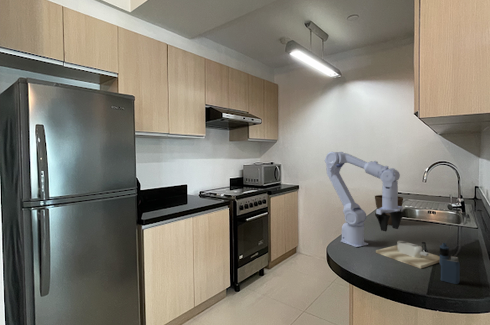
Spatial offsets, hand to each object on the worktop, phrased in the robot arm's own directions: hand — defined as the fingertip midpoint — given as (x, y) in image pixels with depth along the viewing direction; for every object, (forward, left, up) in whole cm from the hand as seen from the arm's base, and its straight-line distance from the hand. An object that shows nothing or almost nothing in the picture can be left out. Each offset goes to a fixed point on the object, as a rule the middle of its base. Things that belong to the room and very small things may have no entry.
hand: (389, 229), depth 113 cm
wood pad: (+7, +2, -9) cm, 12 cm away
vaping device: (+26, -8, -10) cm, 29 cm away
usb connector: (+8, +2, -8) cm, 12 cm away
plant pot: (-30, +43, -10) cm, 53 cm away
